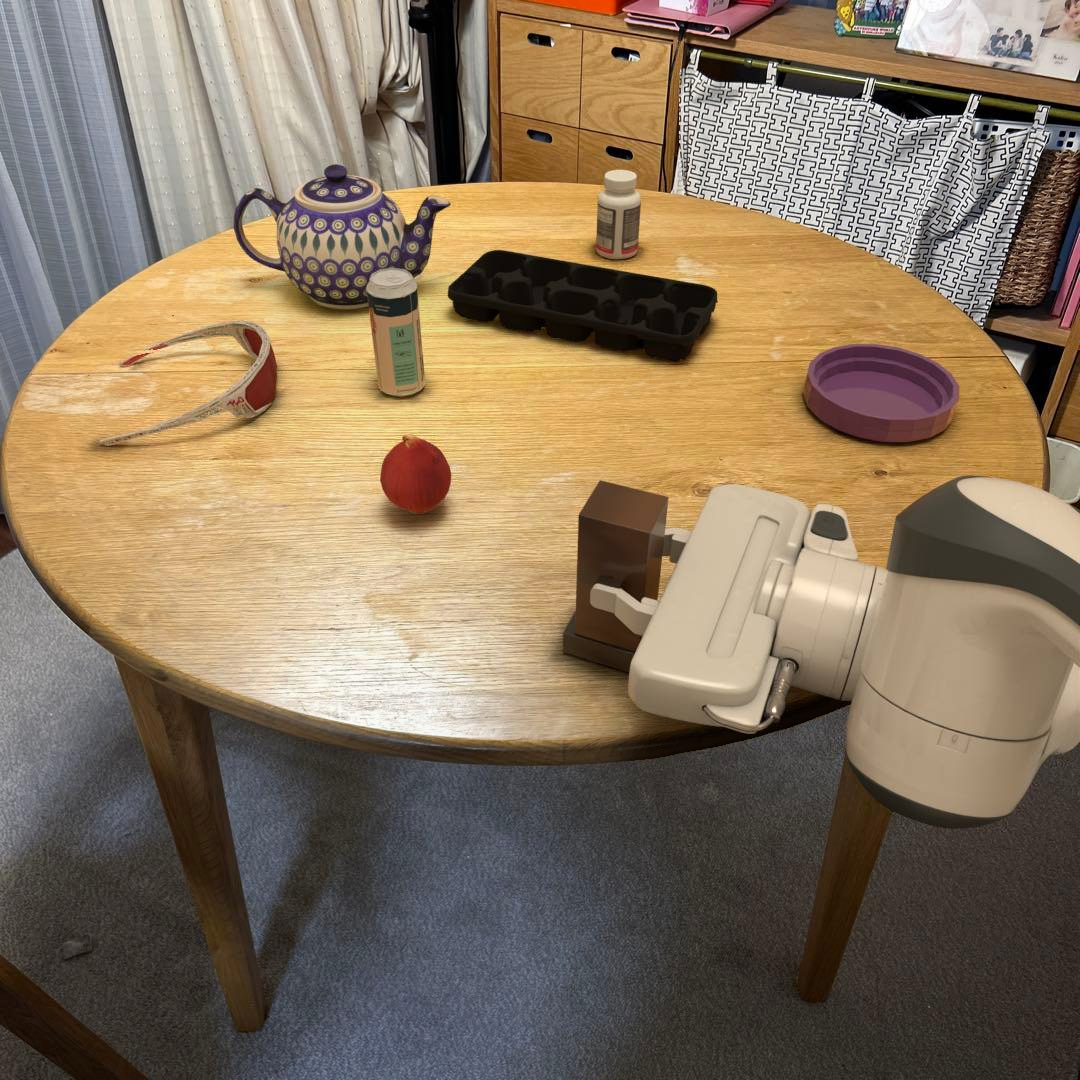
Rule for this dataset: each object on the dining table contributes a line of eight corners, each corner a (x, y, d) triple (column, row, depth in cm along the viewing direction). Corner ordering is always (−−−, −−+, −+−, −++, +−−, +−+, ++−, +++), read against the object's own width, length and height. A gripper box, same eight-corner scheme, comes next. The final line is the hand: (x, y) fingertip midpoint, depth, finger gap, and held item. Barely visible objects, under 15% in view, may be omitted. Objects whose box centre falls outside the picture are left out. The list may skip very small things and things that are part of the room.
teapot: (228, 316, 110) (198, 186, 100) (267, 260, 121) (244, 139, 111) (445, 324, 108) (436, 193, 99) (464, 267, 120) (457, 145, 110)
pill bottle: (634, 242, 125) (639, 166, 119) (640, 260, 121) (646, 182, 115) (593, 243, 125) (596, 167, 119) (597, 261, 121) (601, 183, 115)
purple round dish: (951, 382, 99) (959, 356, 97) (949, 458, 89) (959, 431, 87) (811, 359, 102) (816, 334, 100) (794, 430, 92) (799, 404, 90)
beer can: (400, 370, 101) (389, 261, 93) (435, 384, 98) (426, 274, 91) (368, 390, 98) (354, 279, 90) (403, 405, 95) (392, 292, 88)
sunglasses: (287, 429, 92) (268, 385, 88) (113, 476, 91) (87, 433, 88) (285, 342, 104) (269, 301, 101) (133, 382, 104) (111, 342, 100)
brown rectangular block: (665, 636, 71) (682, 498, 62) (647, 678, 68) (662, 538, 59) (583, 612, 73) (588, 475, 64) (562, 652, 70) (564, 513, 61)
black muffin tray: (710, 370, 101) (714, 338, 98) (433, 343, 105) (430, 312, 102) (717, 295, 114) (721, 265, 111) (471, 275, 118) (470, 245, 116)
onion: (424, 482, 86) (417, 406, 80) (467, 511, 83) (462, 433, 77) (372, 511, 83) (361, 433, 77) (414, 542, 79) (405, 463, 74)
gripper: (767, 774, 56) (549, 703, 60) (828, 560, 71) (649, 515, 75) (785, 704, 52) (550, 633, 56) (846, 492, 67) (655, 448, 71)
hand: (607, 564), depth 66 cm, fingers closed on brown rectangular block, 4 cm apart
